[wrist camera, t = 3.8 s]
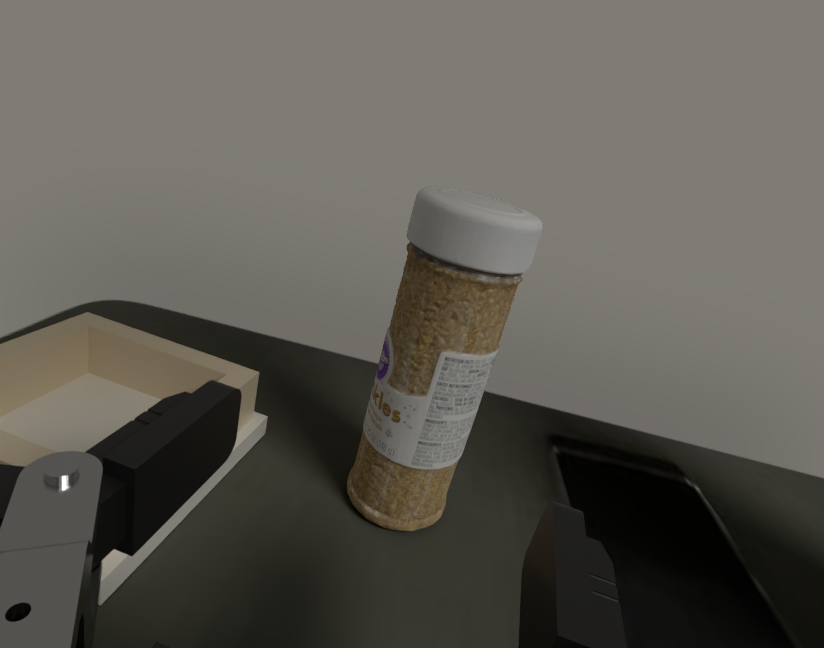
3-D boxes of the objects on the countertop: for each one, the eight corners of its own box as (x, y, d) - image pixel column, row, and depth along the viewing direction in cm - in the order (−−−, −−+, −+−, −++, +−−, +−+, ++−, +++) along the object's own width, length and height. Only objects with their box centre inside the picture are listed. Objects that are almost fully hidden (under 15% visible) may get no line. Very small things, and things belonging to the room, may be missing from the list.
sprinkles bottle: (332, 468, 24) (398, 175, 18) (419, 459, 26) (499, 194, 21) (365, 546, 20) (458, 207, 15) (463, 529, 22) (573, 227, 17)
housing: (265, 433, 25) (274, 371, 23) (100, 605, 15) (101, 518, 14) (87, 368, 26) (87, 305, 25) (-162, 490, 17) (-183, 401, 15)
